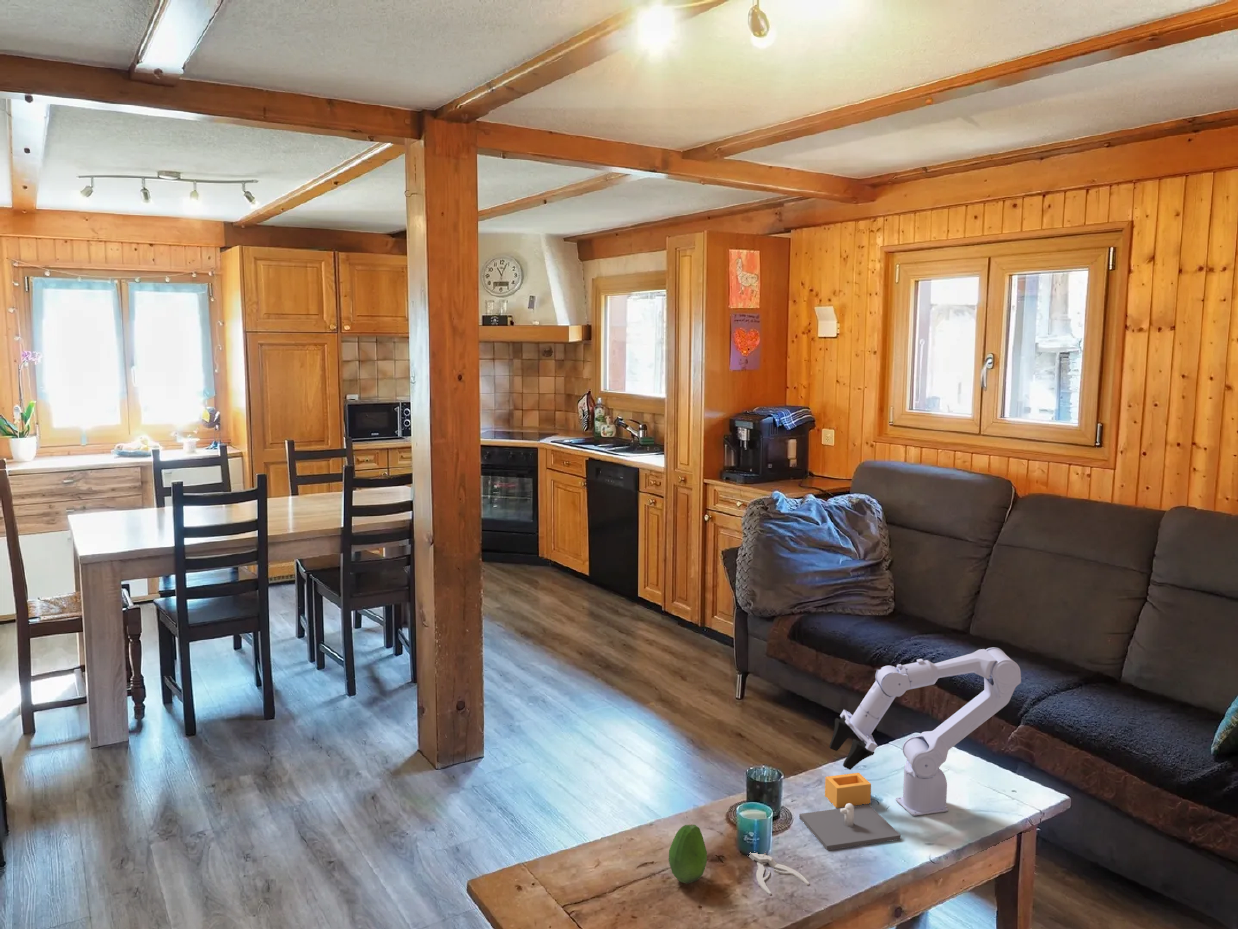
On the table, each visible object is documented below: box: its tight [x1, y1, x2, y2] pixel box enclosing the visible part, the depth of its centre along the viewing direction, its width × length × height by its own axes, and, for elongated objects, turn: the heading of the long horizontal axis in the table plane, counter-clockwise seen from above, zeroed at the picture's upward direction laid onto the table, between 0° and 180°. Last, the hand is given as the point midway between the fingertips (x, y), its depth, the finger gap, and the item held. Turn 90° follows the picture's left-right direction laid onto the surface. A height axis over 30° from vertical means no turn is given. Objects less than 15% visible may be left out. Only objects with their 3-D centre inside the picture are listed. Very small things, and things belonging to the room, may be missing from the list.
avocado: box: [668, 823, 708, 884], centre depth 183 cm, size 8×8×12 cm
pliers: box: [748, 852, 810, 896], centre depth 187 cm, size 10×2×15 cm
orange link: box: [824, 772, 872, 809], centre depth 216 cm, size 9×6×5 cm, turn 104°
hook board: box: [799, 803, 902, 851], centre depth 203 cm, size 18×14×6 cm
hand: (839, 758), depth 213 cm, fingers open, 7 cm apart
